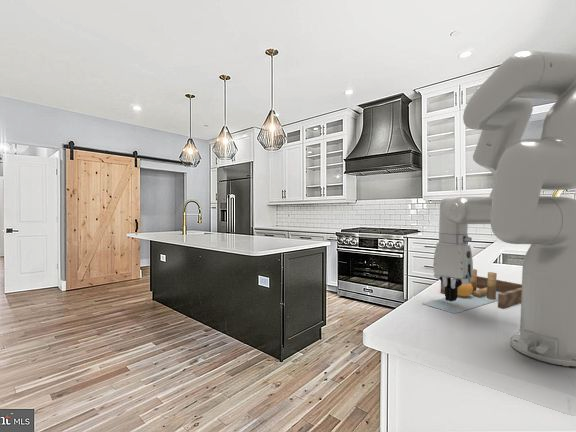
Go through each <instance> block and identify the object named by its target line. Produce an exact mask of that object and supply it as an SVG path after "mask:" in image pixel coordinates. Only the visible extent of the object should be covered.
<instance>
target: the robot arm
mask: <svg viewBox="0 0 576 432" xmlns="http://www.w3.org/2000/svg"><path fill="white" fill-rule="evenodd" d="M530 99H535V100H553V101H554V100H555V101H556V102H555V103H554V104H552V106H551V107H550V109H549V110H548V112H547V113H546V115H545V117H544V120H543V124H542V132H541V135H540V139H539V138H528V139H527V138H525V139H522V137H523V135H524V133H525V131H526V128H527V126H528V123H529V121H530V119H531V116H532V115H533V108H534V106H533V103H532V101H531V100H530ZM462 120H463V124H464V125H465V127H467V129H470V130H475V131H476V130H477V131H478V130H479V131H481V133H480V135H479V138H478V142H477V144H476V146H475V148H474V152H473V155H472V160H473V162H475V163H476V164H477V165H479V166H480V167H483V168H485V169H487V170H489V171H490V172H491V174H492V176H493V186H492V189H491V191H490V194H489V196H459V197H455V198H454V197H451V198H450V197H449V198H448V197H447V198H443V199H441V200H440V202H439V221H438V222H439V227H438V229H439V232H438V242H437V243H436V245H435V249H434V255H433V264H432V265H433V266H432V267H433V268H432V269H433V277H434V278H436V279H438V280H439V281H440V283H441V282H442V283H443V286H444V287H445V294H444V298H445V300H447V301H448V300H449V301H451V302H452V301H455V300H456V299H457V293H458V287H460V286H461V285H462V284H470V283H471V280H470V278H471V277H472V276H473V269H474V264H473V261H474V259H473V254H472V248H471V245H469V244H468V243H471V242H472V240H473V238H472V237H470V236H469V234H468V225H490V227H491V228H490V229H491V230H492V233H493V235H494V236H495V237H496V238H497V239H498V240H500V242H501V241H502V242H503V243H505V244H511V245H512V244H513V245H529V247H528V249H527V251H526V253H525V255H524V258H523V261H522V271H521V272H522V273H521V284H522V295H521V303H520V323H519V324H520V327H519V328H520V329H519V334H515V335H513V336H511V337H510V346H511V347H512V348H513V349H514V350H516V351H517V352H519V353H521V354H523V355H525V356H527V357H530V358H532V359H535V360H537V361H541V362H544V363H548V364H552V365H556V366H561V365H562V366H563V367H569V366H576V199H574V198H571V197H570V198H569V197H565V196H549V195H548V196H544V195H541V192H542V190H543V191H545V190H546V191H549V190H550V191H561V190H562V191H567V190H575V189H576V53H575V54H574V53H566V52H549V51H539V50H524V51H519V52H517V53H516V52H515V53H514V54H512V55H511V56H509V57H507V59H505V60H504V61H503V62H501V64H500V65H499V66H498V67H497V68H496V69H495V70H494V72H492V74H491V75H490V76H489V77H488V78H487V79H486V80H485V81H484V82H483V83H482V84H481V85H480V86H479V87H478V89H476V90H475V91H474V93H473V95H472V96H471V97H470V99H469V100H468V102H467V103H466V106H465V108H464V111H463V115H462ZM521 139H522V140H521ZM451 279H452V280H451ZM462 279H463V280H462ZM562 366H561V367H562Z"/></svg>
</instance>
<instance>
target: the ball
mask: <svg viewBox="0 0 576 432" xmlns="http://www.w3.org/2000/svg"><path fill="white" fill-rule="evenodd" d="M462 280H463V279H462ZM472 291H473V286H472V284H471V283H470V284H462V285H461V286H460V287H458V293H457V296H460V297H468V296H469V295H471V293H472Z"/></svg>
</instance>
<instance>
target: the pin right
mask: <svg viewBox="0 0 576 432" xmlns="http://www.w3.org/2000/svg"><path fill="white" fill-rule="evenodd" d="M497 275H498V273H497V272H491V271H490V272H489V271H488V272H487V278H488V280H487V298H488V299H493V300H494V299H496V280H497Z"/></svg>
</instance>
